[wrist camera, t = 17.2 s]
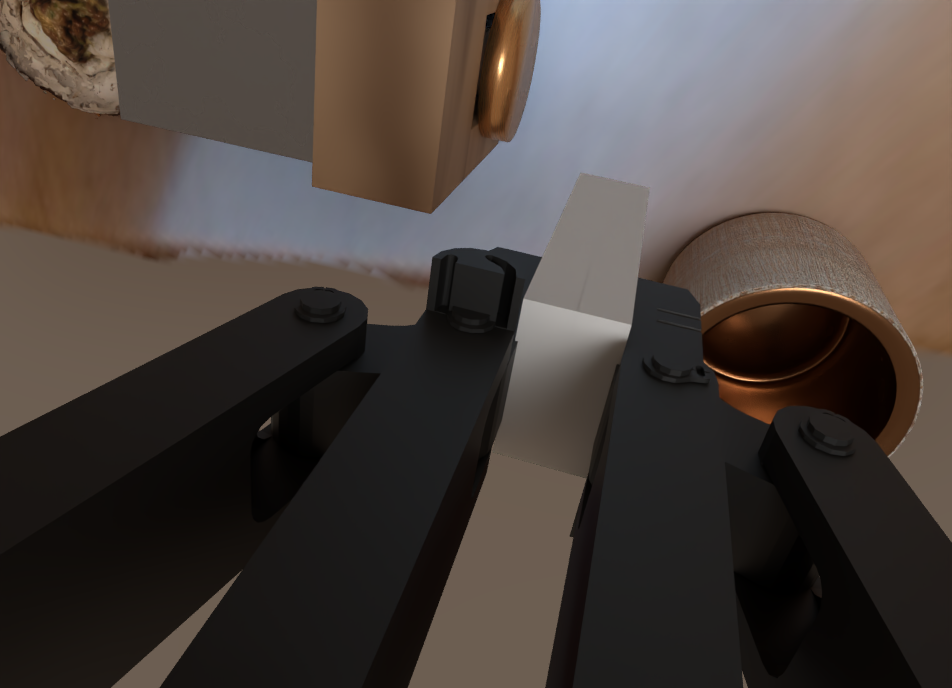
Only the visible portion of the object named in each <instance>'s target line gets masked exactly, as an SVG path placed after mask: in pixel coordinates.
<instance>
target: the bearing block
mask: <svg viewBox="0 0 952 688" xmlns="http://www.w3.org/2000/svg"><path fill="white" fill-rule="evenodd" d="M108 5H109V14H110V23H111V32H112V42H113V51H114V60H115V69H116V79H117V88H118V97H119V106H120V116H121V119H123V120H127V121H132V122H136V123H141V124H145V125H150V126H154V127H158V128H163V129H167V130H172V131H176V132H180V133H185V134H189V135H194V136H198V137H203V138H207V139H211V140H216V141H220V142H225V143H229V144H233V145H238V146H242V147H247V148H251V149H255V150H260V151H264V152H269V153H273V154H278V155H282V156H286V157H291V158H295V159H300V160H304V161H308V162H313V130H314V93H315V56H316V19H317V0H108Z"/></svg>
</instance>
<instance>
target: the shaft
mask: <svg viewBox="0 0 952 688" xmlns="http://www.w3.org/2000/svg"><path fill="white" fill-rule="evenodd" d="M540 15H541V7H540V0H500V3H499V5H498V7H497V10H496V13H495V16H494V19H493V22H492V26H491V28H487V27H485V32H484V40H483V47H482V54H481V61H480V68H479V76H478V83H477V90H476V97H479V100H478V125H479V131H480V134H481V135H482V136H483V137H486V138H491V139H495V140H500V141H505V142H510V141H511V140H512V139H513V137H514V135H515V133H516V131H517V129H518V126H519V124H520V121H521V118H522V115H523V111H524V108H525V105H526V101H527V97H528V93H529V89H530V84H531V80H532V75H533V70H534V65H535V59H536V53H537V46H538V39H539V30H540Z"/></svg>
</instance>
